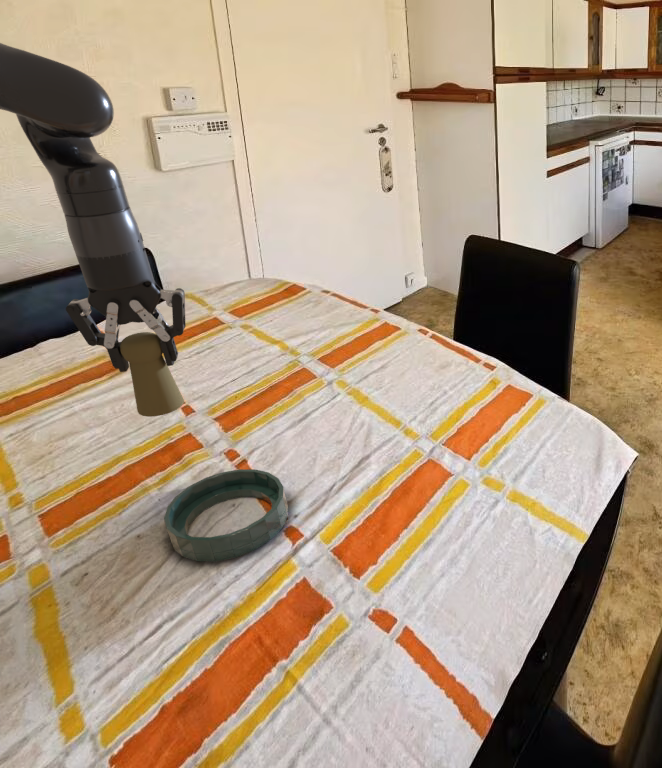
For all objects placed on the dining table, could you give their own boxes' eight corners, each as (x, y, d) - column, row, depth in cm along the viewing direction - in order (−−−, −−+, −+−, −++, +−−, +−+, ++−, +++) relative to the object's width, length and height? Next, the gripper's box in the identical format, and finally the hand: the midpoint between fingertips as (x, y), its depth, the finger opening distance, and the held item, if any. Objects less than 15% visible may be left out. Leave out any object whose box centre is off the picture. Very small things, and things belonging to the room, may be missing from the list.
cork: (186, 409, 89) (165, 338, 83) (138, 421, 86) (113, 348, 81) (181, 391, 93) (161, 323, 88) (136, 402, 91) (112, 333, 85)
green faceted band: (164, 580, 80) (153, 550, 78) (184, 506, 93) (175, 479, 91) (288, 555, 84) (281, 526, 81) (290, 488, 97) (284, 461, 94)
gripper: (33, 260, 74) (82, 386, 82) (166, 248, 77) (201, 370, 85) (53, 244, 80) (97, 362, 88) (176, 234, 84) (207, 348, 92)
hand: (148, 366), depth 87 cm, fingers closed on cork, 5 cm apart
